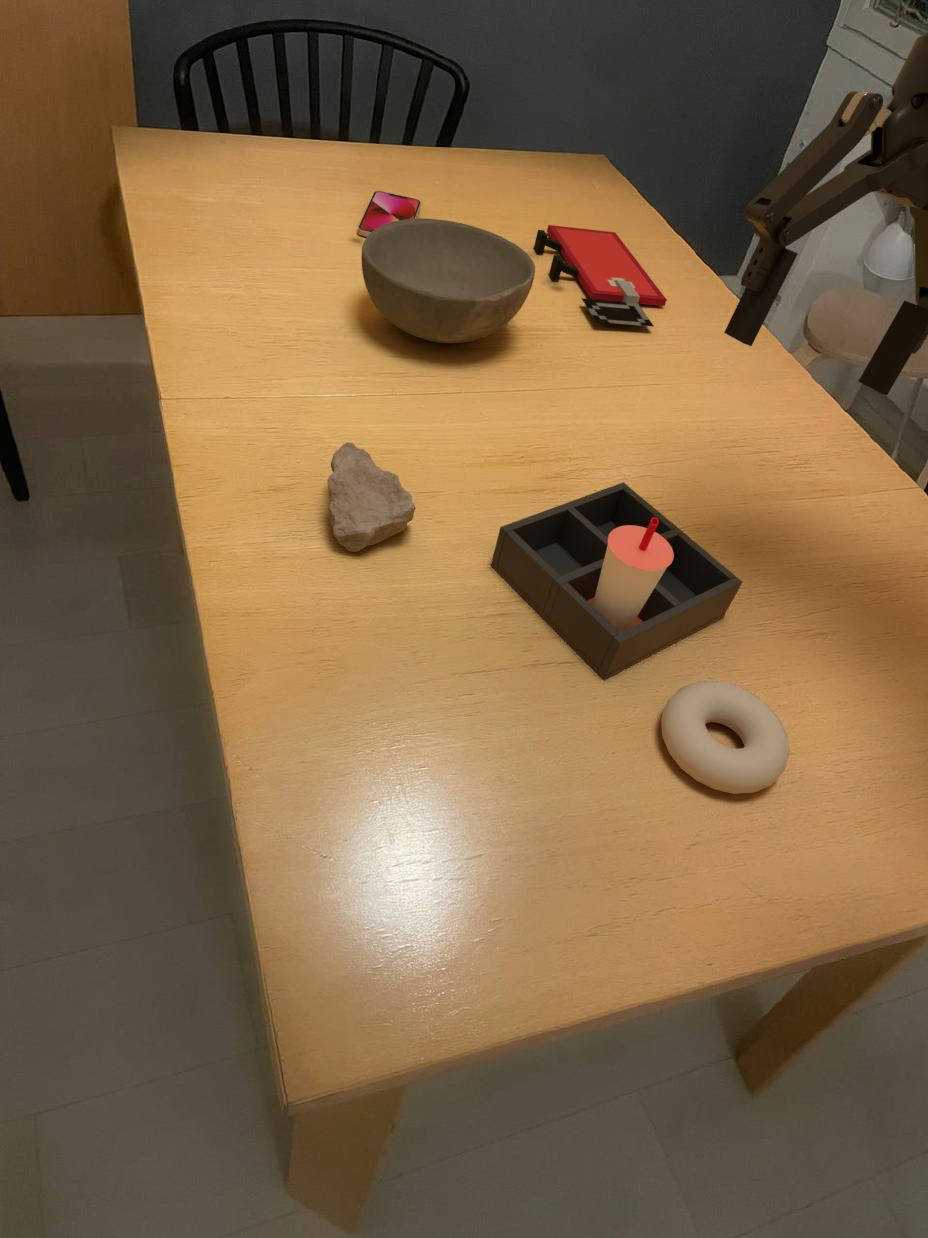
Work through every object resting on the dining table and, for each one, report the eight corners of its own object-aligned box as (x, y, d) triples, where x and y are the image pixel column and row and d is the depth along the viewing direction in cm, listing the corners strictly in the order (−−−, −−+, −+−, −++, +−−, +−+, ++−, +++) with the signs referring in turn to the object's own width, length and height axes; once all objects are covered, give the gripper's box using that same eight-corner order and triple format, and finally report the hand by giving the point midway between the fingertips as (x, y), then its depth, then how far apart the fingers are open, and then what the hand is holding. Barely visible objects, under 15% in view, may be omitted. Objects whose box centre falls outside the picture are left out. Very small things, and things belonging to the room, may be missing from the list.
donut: (685, 679, 74) (633, 751, 67) (700, 652, 71) (648, 724, 65) (794, 745, 71) (752, 827, 64) (814, 718, 68) (772, 800, 62)
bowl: (439, 278, 118) (450, 202, 111) (550, 347, 110) (570, 270, 103) (321, 311, 107) (325, 228, 99) (436, 391, 98) (449, 307, 91)
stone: (293, 498, 81) (295, 446, 77) (369, 479, 85) (375, 429, 81) (343, 565, 76) (348, 513, 72) (421, 542, 80) (431, 491, 76)
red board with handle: (580, 327, 114) (683, 335, 118) (586, 307, 112) (690, 315, 117) (523, 231, 134) (612, 241, 139) (527, 212, 132) (617, 223, 137)
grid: (723, 618, 80) (743, 581, 76) (603, 680, 72) (620, 643, 69) (609, 518, 87) (623, 481, 84) (490, 565, 79) (500, 526, 76)
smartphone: (356, 229, 122) (374, 189, 133) (355, 236, 123) (373, 196, 134) (408, 240, 123) (422, 199, 133) (407, 247, 123) (421, 206, 134)
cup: (636, 654, 73) (686, 548, 65) (574, 637, 74) (616, 529, 65) (640, 611, 77) (688, 505, 69) (582, 595, 77) (622, 487, 69)
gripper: (1053, 118, 64) (892, 390, 74) (799, -36, 54) (650, 302, 64) (1143, 127, 58) (955, 423, 68) (877, -44, 48) (700, 331, 58)
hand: (807, 365), depth 66 cm, fingers open, 13 cm apart
